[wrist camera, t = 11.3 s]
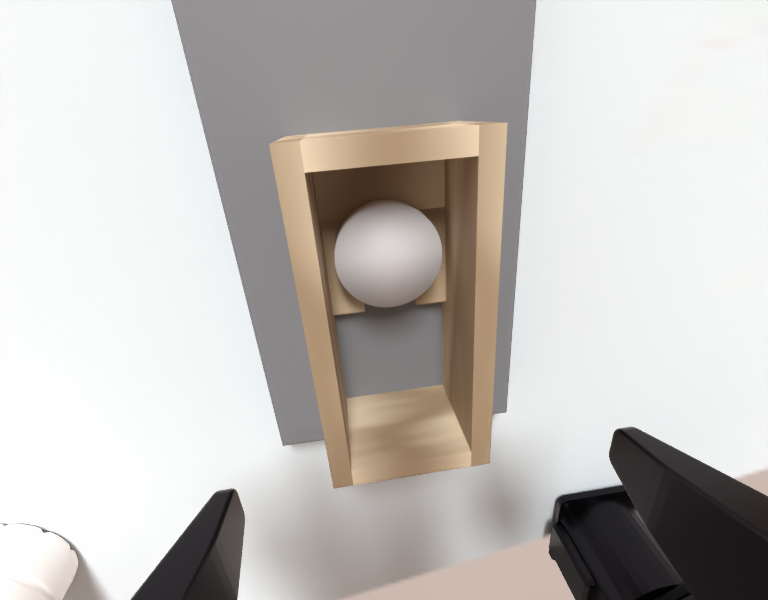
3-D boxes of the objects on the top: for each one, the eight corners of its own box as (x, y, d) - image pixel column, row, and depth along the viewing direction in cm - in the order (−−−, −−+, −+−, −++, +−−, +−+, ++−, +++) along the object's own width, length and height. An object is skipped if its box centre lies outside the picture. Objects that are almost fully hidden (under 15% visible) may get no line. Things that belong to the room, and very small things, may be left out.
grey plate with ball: (523, -86, 14) (584, -150, 10) (495, 394, 23) (524, 442, 19) (167, -70, 13) (110, -135, 10) (285, 425, 22) (277, 481, 19)
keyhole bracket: (459, 120, 15) (507, 122, 11) (458, 395, 21) (489, 463, 16) (285, 136, 14) (269, 144, 10) (332, 413, 20) (333, 488, 16)
